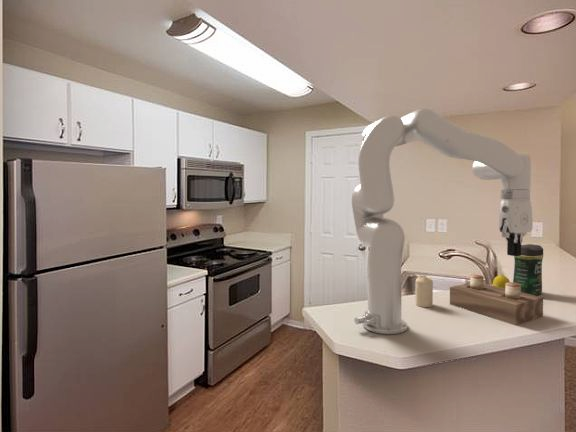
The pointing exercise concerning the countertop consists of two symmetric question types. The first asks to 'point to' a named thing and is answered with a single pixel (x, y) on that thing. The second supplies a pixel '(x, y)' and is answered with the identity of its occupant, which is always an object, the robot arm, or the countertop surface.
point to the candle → (424, 292)
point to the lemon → (500, 281)
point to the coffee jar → (529, 269)
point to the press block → (497, 303)
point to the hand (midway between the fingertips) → (514, 255)
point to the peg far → (476, 282)
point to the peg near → (513, 290)
